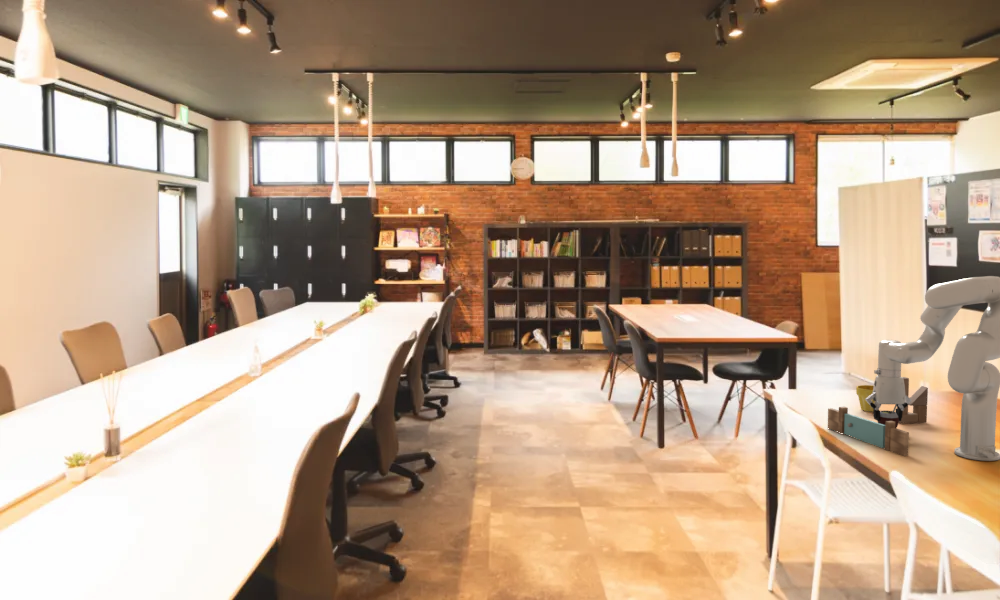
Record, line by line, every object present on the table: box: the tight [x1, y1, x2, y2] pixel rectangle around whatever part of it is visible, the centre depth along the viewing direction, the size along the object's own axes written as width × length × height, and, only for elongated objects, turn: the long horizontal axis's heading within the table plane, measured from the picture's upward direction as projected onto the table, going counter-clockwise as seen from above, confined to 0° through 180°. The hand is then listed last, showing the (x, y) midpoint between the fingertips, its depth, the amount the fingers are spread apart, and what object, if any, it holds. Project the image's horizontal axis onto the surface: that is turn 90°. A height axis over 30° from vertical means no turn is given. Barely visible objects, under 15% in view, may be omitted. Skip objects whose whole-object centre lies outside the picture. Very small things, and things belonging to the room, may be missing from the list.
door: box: [843, 413, 885, 449], centre depth 247 cm, size 18×2×8 cm, turn 15°
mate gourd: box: [877, 394, 906, 429], centre depth 256 cm, size 8×8×15 cm
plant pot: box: [855, 384, 875, 413], centre depth 292 cm, size 10×10×10 cm
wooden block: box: [899, 376, 929, 424], centre depth 271 cm, size 4×11×18 cm, turn 93°
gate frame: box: [827, 406, 910, 457], centre depth 247 cm, size 36×2×10 cm, turn 15°
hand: (887, 419), depth 257 cm, fingers closed on mate gourd, 7 cm apart
